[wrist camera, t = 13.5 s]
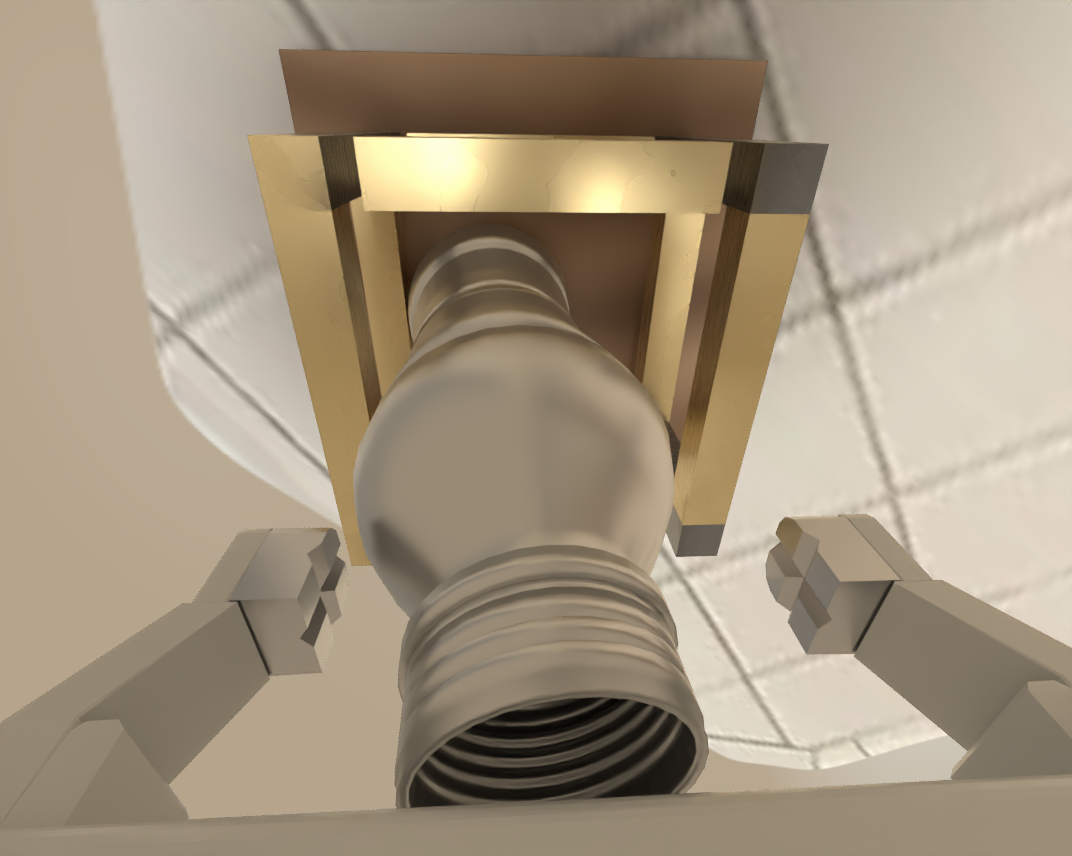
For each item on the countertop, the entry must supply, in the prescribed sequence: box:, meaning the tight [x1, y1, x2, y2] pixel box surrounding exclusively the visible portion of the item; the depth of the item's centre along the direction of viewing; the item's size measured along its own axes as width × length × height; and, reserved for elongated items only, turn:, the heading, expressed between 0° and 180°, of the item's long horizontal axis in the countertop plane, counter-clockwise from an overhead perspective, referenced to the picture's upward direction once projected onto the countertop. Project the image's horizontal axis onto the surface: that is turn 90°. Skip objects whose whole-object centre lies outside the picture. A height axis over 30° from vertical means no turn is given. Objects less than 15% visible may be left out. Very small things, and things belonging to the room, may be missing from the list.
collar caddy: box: [247, 131, 829, 566], centre depth 19 cm, size 13×13×10 cm
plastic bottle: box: [353, 223, 709, 808], centre depth 14 cm, size 6×7×20 cm
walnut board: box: [279, 49, 768, 443], centre depth 24 cm, size 18×18×1 cm
